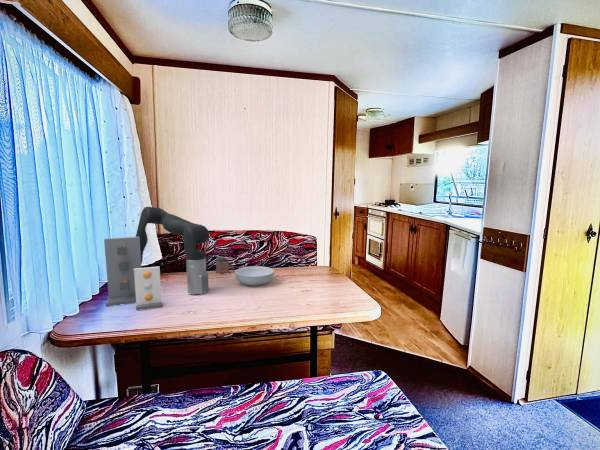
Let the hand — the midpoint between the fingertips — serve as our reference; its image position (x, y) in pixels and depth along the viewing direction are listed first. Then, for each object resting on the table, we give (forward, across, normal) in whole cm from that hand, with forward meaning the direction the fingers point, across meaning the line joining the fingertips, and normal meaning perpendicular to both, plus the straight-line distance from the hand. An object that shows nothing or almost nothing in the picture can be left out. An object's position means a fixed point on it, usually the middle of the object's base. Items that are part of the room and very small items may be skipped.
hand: (127, 274), depth 161 cm
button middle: (+9, 0, -5) cm, 11 cm away
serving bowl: (+11, +62, +10) cm, 63 cm away
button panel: (+11, 0, +9) cm, 14 cm away
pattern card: (+25, +10, +9) cm, 28 cm away
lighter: (-15, +49, +9) cm, 52 cm away
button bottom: (+12, 0, +3) cm, 13 cm away
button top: (+12, 0, -13) cm, 18 cm away
